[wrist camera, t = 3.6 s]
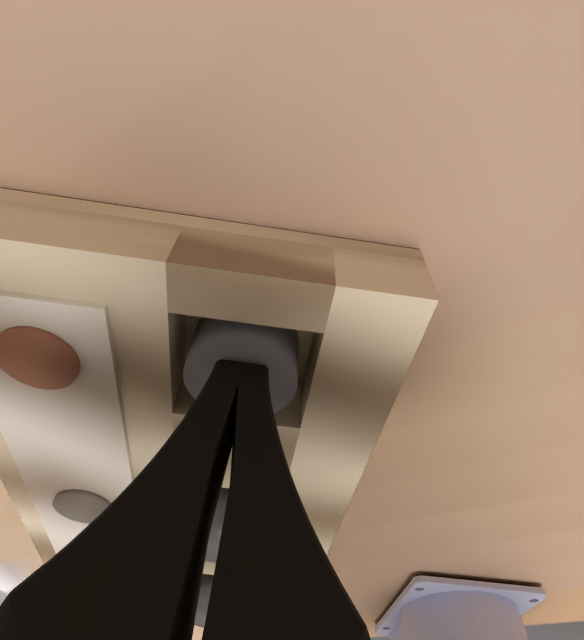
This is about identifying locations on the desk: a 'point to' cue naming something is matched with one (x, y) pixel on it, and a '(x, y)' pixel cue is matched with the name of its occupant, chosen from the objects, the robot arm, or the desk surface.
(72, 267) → the button board
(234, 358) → the button
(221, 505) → the middle button
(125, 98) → the desk surface
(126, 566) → the robot arm
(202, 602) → the button
